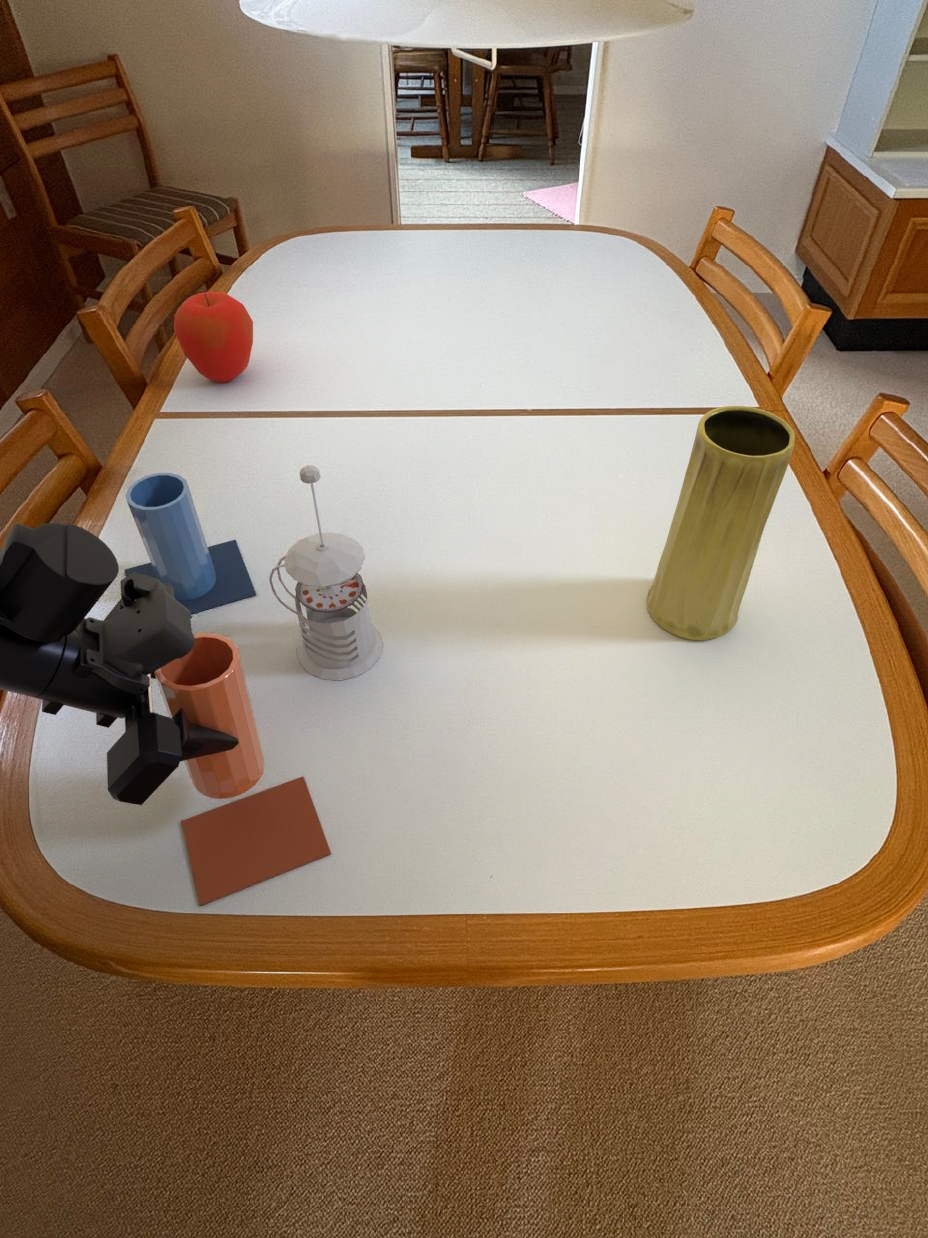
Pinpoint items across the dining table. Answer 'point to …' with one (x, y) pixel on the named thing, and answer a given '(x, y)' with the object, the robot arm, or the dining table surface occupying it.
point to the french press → (330, 602)
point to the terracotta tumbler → (215, 713)
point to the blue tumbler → (172, 534)
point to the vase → (719, 520)
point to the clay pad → (253, 840)
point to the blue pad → (229, 578)
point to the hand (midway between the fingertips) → (230, 712)
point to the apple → (215, 335)
